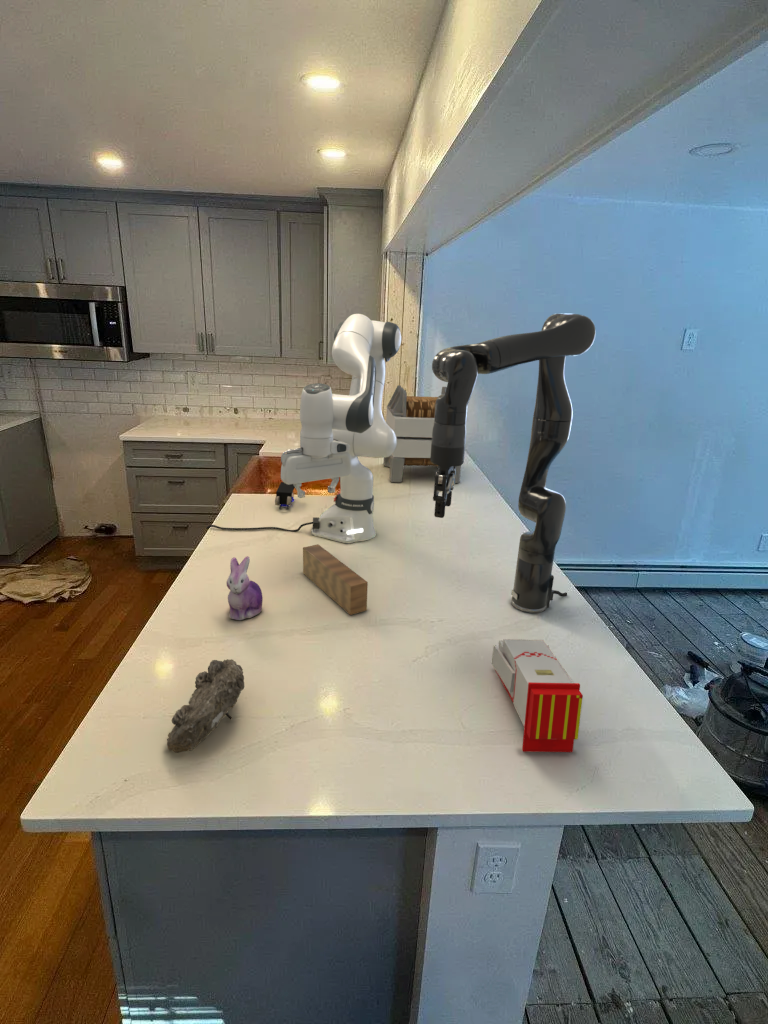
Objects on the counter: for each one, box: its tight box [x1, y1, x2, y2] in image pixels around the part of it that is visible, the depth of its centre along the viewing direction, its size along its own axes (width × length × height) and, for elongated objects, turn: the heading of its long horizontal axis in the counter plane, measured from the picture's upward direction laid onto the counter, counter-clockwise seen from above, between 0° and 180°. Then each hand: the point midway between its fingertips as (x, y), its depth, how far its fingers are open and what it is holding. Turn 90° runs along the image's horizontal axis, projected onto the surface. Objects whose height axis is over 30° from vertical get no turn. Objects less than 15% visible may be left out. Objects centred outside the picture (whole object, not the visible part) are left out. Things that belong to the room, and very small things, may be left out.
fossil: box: [166, 658, 245, 754], centre depth 106 cm, size 22×10×15 cm
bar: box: [302, 543, 369, 616], centre depth 157 cm, size 28×5×8 cm, turn 33°
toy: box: [491, 638, 584, 753], centre depth 114 cm, size 12×13×30 cm
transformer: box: [383, 384, 462, 484], centre depth 268 cm, size 34×33×41 cm
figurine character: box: [274, 481, 296, 510], centre depth 222 cm, size 7×8×15 cm
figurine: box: [226, 555, 264, 621], centre depth 142 cm, size 9×10×15 cm
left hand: (316, 494), depth 157 cm, fingers open, 8 cm apart
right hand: (442, 511), depth 131 cm, fingers open, 8 cm apart
